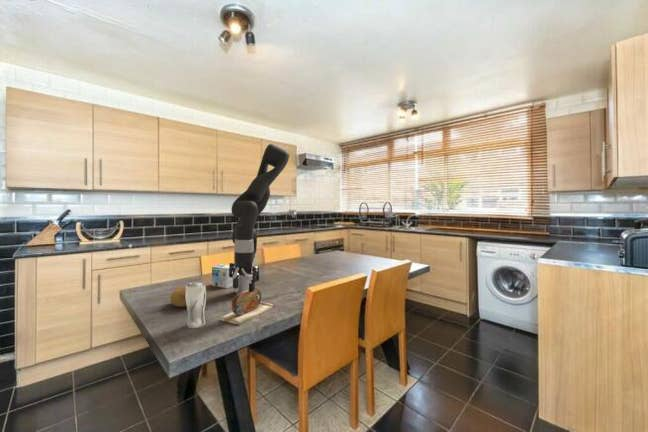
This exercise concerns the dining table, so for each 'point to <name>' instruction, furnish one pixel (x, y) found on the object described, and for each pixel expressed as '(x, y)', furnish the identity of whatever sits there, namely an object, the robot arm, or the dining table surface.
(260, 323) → the dining table surface
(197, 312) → the beer glass
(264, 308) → the board
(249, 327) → the dining table surface
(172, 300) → the potato
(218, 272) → the light bulb box
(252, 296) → the tin
